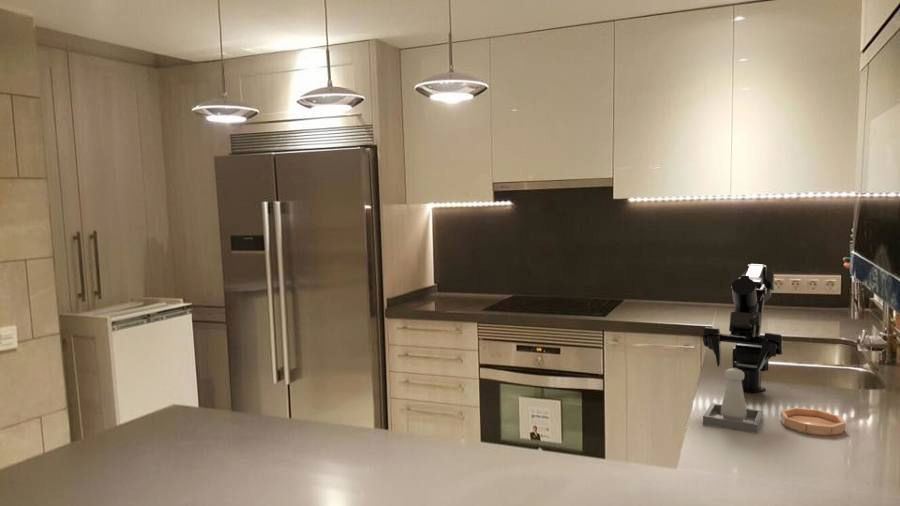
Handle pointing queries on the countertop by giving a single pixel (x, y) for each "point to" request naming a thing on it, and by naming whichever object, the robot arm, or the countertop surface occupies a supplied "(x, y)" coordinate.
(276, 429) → the countertop surface
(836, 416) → the terracotta dish
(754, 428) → the charcoal tray
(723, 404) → the salt shaker
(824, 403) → the countertop surface
